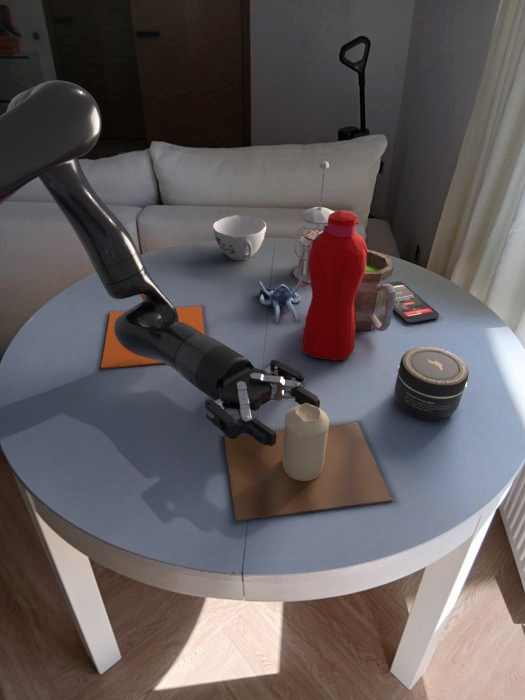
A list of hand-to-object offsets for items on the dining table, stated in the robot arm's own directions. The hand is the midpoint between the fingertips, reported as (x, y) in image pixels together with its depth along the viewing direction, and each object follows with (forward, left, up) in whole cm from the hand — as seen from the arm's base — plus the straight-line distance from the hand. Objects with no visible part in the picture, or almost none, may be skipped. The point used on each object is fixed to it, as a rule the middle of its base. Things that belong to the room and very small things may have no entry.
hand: (297, 423), depth 63 cm
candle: (+1, -1, -7) cm, 7 cm away
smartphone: (+32, +39, -7) cm, 51 cm away
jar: (+23, +9, -8) cm, 26 cm away
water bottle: (+11, +26, -8) cm, 29 cm away
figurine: (+6, +41, -8) cm, 42 cm away
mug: (+21, +33, -8) cm, 40 cm away
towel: (-19, +34, -7) cm, 40 cm away
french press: (+16, +54, -8) cm, 57 cm away
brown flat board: (+1, -1, -7) cm, 8 cm away
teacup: (+1, +65, -8) cm, 65 cm away
